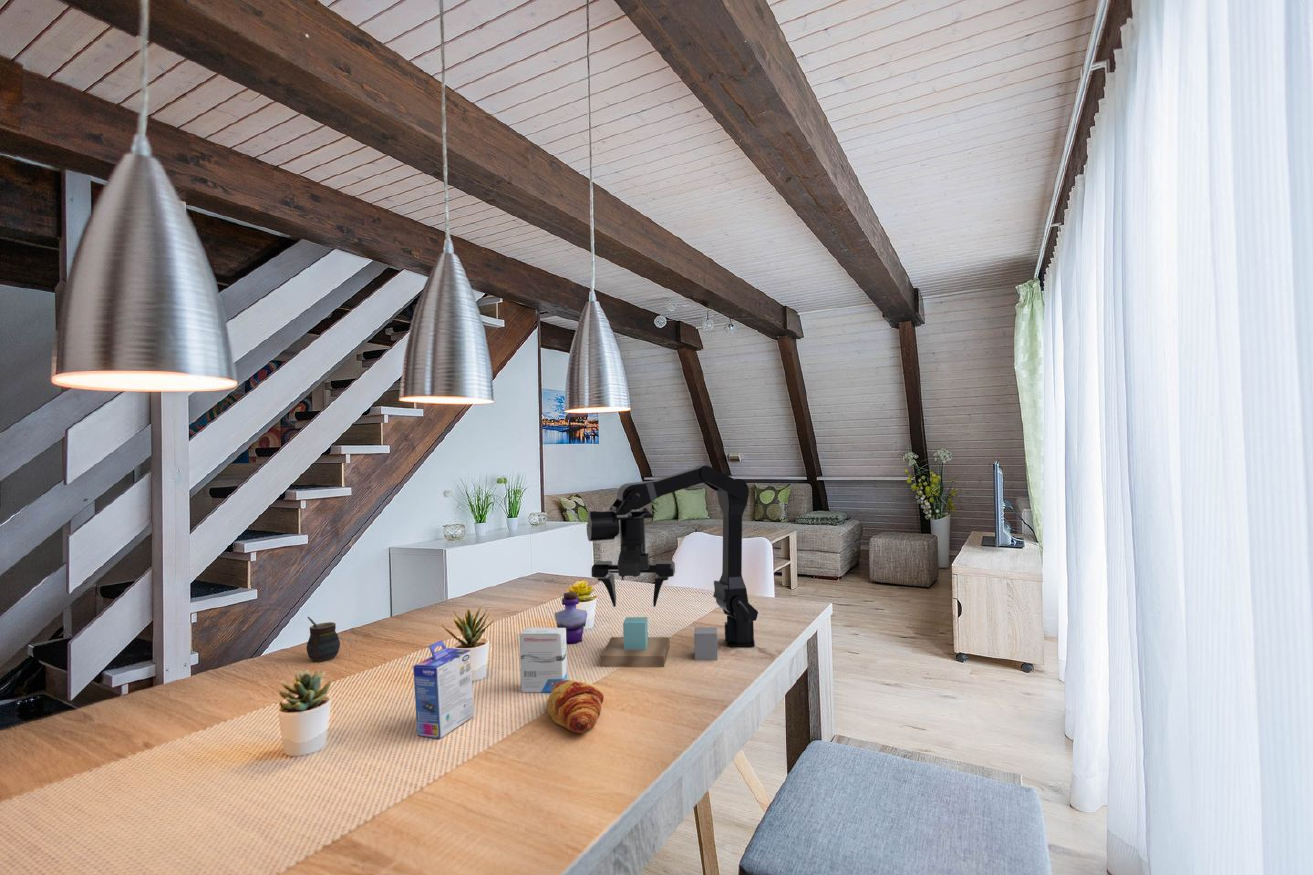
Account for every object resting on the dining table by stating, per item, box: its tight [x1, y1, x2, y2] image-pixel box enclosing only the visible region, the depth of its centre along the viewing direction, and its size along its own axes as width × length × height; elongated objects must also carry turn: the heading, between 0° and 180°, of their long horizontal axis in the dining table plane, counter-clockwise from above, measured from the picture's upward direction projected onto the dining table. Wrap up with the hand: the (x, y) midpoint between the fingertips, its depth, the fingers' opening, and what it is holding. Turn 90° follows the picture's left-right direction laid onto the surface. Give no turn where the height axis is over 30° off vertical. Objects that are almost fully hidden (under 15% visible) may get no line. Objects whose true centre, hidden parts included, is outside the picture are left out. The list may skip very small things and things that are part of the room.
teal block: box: [622, 616, 649, 650], centre depth 151 cm, size 5×5×6 cm
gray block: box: [693, 626, 719, 661], centre depth 150 cm, size 5×5×6 cm
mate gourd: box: [306, 616, 341, 663], centre depth 157 cm, size 7×8×10 cm
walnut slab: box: [599, 636, 670, 668], centre depth 151 cm, size 14×14×3 cm
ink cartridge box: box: [412, 640, 475, 739], centre depth 116 cm, size 10×6×14 cm, turn 161°
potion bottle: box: [553, 591, 588, 645], centre depth 165 cm, size 9×9×12 cm
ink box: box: [518, 627, 568, 694], centre depth 133 cm, size 8×5×12 cm, turn 84°
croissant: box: [545, 679, 605, 734], centre depth 119 cm, size 21×10×8 cm, turn 17°
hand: (634, 606), depth 151 cm, fingers open, 9 cm apart
